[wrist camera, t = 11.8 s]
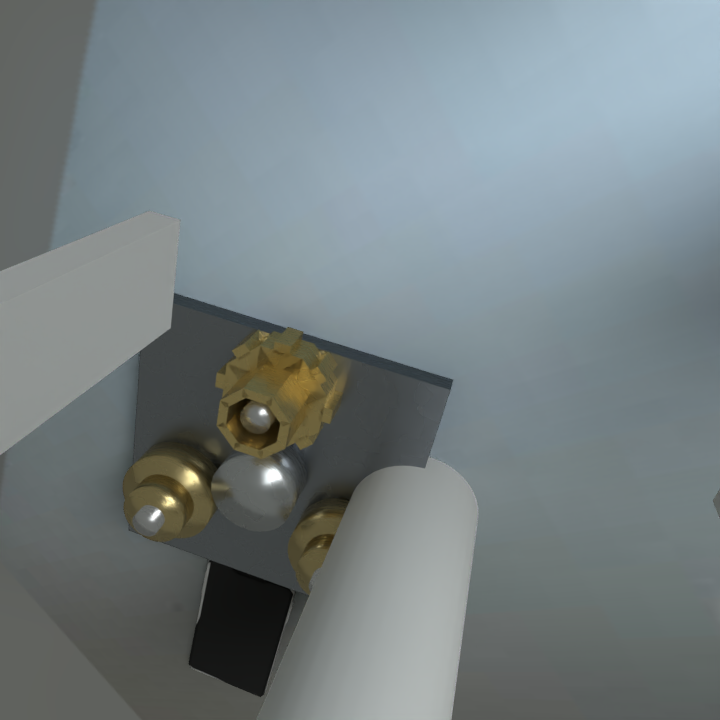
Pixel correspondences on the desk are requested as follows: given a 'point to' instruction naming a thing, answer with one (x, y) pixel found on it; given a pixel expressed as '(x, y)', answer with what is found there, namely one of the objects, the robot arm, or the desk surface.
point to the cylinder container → (385, 605)
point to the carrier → (273, 473)
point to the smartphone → (239, 627)
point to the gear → (277, 391)
